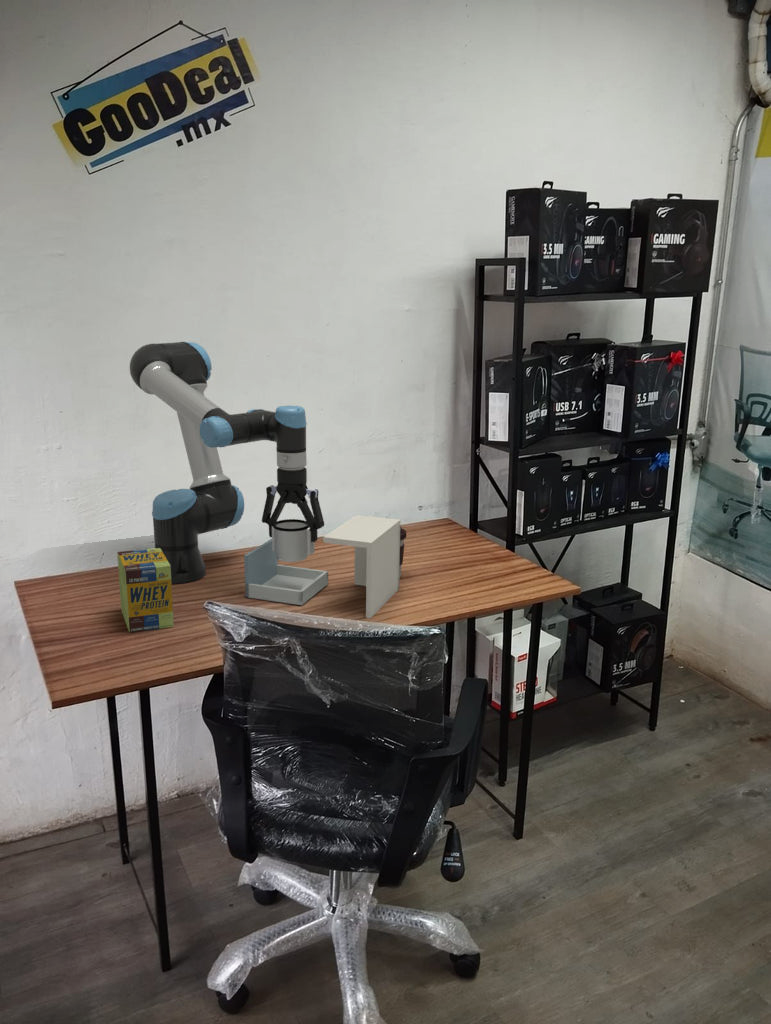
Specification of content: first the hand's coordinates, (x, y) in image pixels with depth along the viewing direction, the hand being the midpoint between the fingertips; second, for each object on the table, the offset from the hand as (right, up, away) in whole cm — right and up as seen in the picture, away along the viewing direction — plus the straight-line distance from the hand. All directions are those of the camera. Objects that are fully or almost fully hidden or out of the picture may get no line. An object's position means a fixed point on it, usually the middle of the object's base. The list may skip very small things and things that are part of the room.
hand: (293, 551), depth 221 cm
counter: (+18, -13, -2) cm, 22 cm away
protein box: (-34, -16, -16) cm, 40 cm away
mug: (-1, -1, +1) cm, 2 cm away
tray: (-2, -11, +4) cm, 12 cm away
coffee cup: (+25, -8, +16) cm, 30 cm away
